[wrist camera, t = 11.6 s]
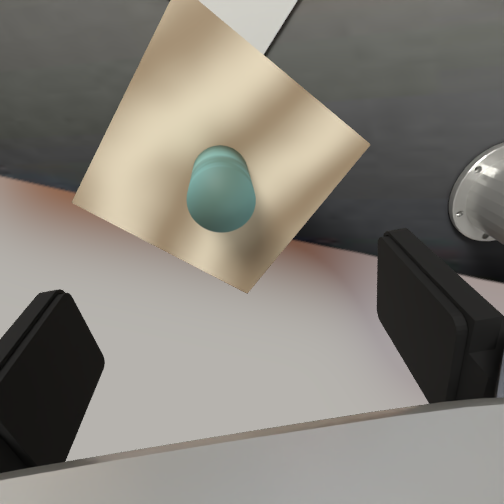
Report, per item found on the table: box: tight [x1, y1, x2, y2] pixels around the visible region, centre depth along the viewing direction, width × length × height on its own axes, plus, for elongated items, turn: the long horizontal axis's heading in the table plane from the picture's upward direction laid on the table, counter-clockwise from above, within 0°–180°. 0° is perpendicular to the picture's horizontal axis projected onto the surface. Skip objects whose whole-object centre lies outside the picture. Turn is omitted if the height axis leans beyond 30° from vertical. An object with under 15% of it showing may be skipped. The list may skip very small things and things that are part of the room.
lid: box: [72, 0, 371, 293], centre depth 20 cm, size 14×14×6 cm
